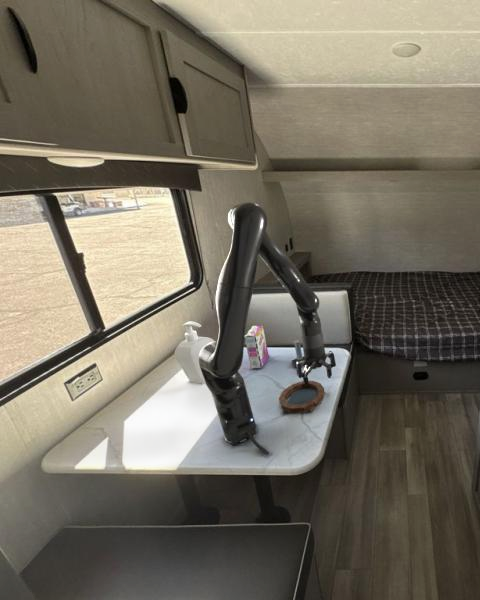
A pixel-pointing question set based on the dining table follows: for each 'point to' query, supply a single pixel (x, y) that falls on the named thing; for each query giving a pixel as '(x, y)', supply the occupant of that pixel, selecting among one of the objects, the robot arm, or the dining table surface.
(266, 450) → the robot arm
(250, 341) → the candy bar box
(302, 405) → the ring
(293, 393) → the mat
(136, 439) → the dining table surface
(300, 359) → the stand
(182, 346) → the soap bottle
